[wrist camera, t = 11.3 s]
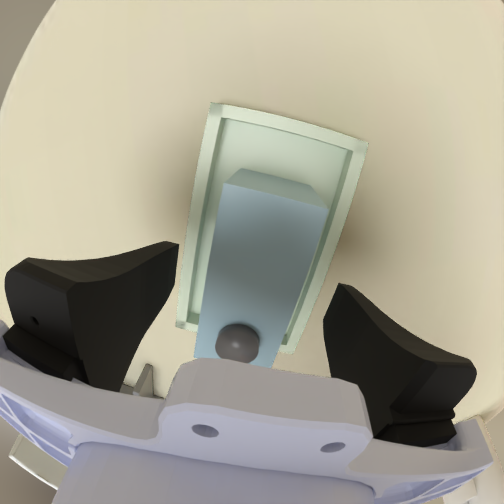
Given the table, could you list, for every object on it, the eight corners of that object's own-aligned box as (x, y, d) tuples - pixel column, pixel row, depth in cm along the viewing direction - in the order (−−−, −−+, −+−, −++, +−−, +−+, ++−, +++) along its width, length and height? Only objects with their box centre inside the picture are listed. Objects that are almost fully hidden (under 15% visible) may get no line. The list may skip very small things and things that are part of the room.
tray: (359, 142, 14) (368, 142, 13) (292, 338, 20) (292, 354, 18) (217, 106, 14) (210, 102, 13) (182, 313, 20) (175, 326, 18)
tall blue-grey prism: (310, 185, 15) (332, 214, 9) (270, 314, 19) (267, 384, 13) (241, 168, 15) (220, 186, 9) (213, 301, 19) (190, 366, 13)
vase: (486, 409, 25) (521, 500, 7) (469, 432, 28) (496, 514, 9) (432, 432, 26) (460, 539, 8) (417, 452, 29) (437, 546, 11)
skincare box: (51, 379, 27) (4, 453, 14) (63, 369, 26) (8, 455, 12) (95, 417, 30) (58, 493, 16) (112, 411, 28) (72, 499, 14)
